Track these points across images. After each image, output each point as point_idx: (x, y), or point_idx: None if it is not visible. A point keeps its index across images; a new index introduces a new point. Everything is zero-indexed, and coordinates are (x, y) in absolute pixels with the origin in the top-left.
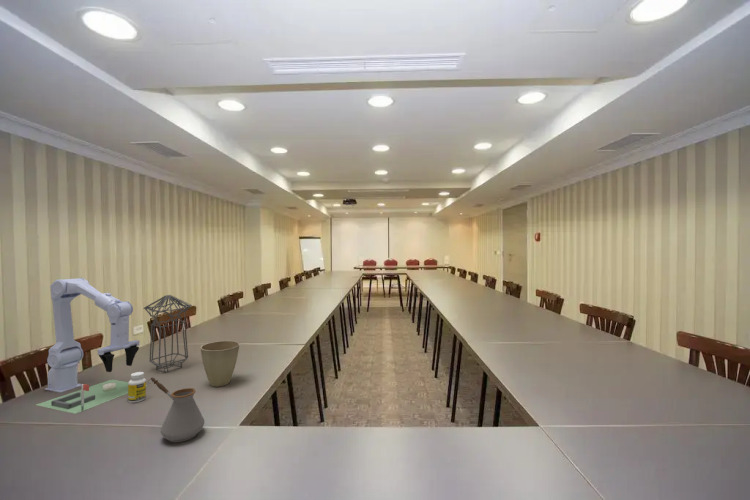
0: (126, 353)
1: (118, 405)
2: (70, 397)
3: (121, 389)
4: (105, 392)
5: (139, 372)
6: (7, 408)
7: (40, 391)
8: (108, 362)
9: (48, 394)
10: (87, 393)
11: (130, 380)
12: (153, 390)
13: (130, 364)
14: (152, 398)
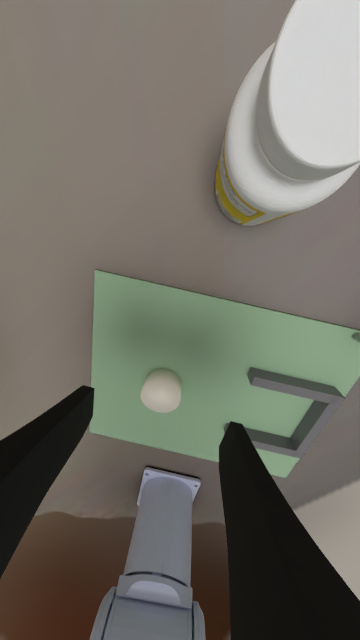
0: (12, 544)
1: (312, 230)
2: (255, 436)
3: (155, 345)
4: (188, 377)
5: (301, 81)
6: (295, 508)
7: (194, 513)
8: (307, 536)
9: (210, 492)
10: (201, 420)
11: (336, 174)
12: (130, 197)
13: (87, 394)
14: (229, 97)
